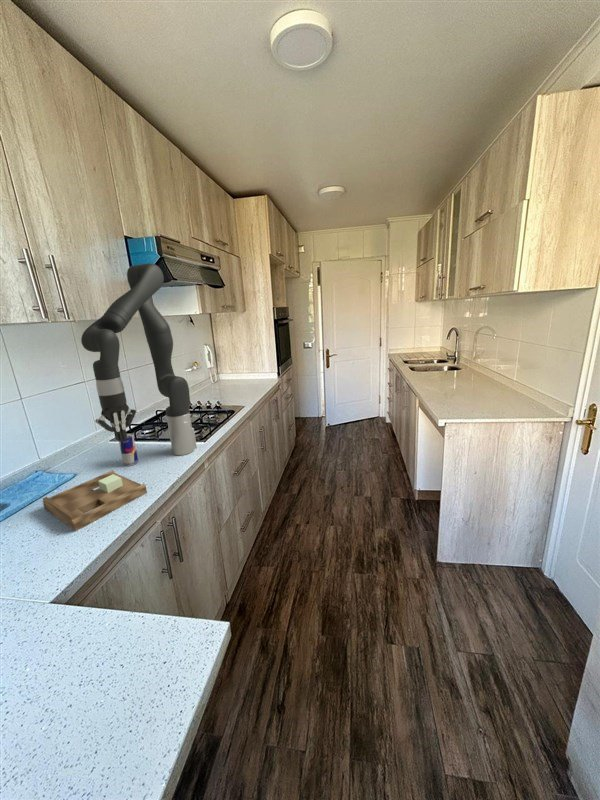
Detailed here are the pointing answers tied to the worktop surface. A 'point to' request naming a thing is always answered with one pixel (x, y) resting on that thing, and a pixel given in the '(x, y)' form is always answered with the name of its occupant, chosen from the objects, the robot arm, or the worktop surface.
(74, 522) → the trap tray
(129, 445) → the energy drink
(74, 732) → the worktop surface
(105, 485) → the block
